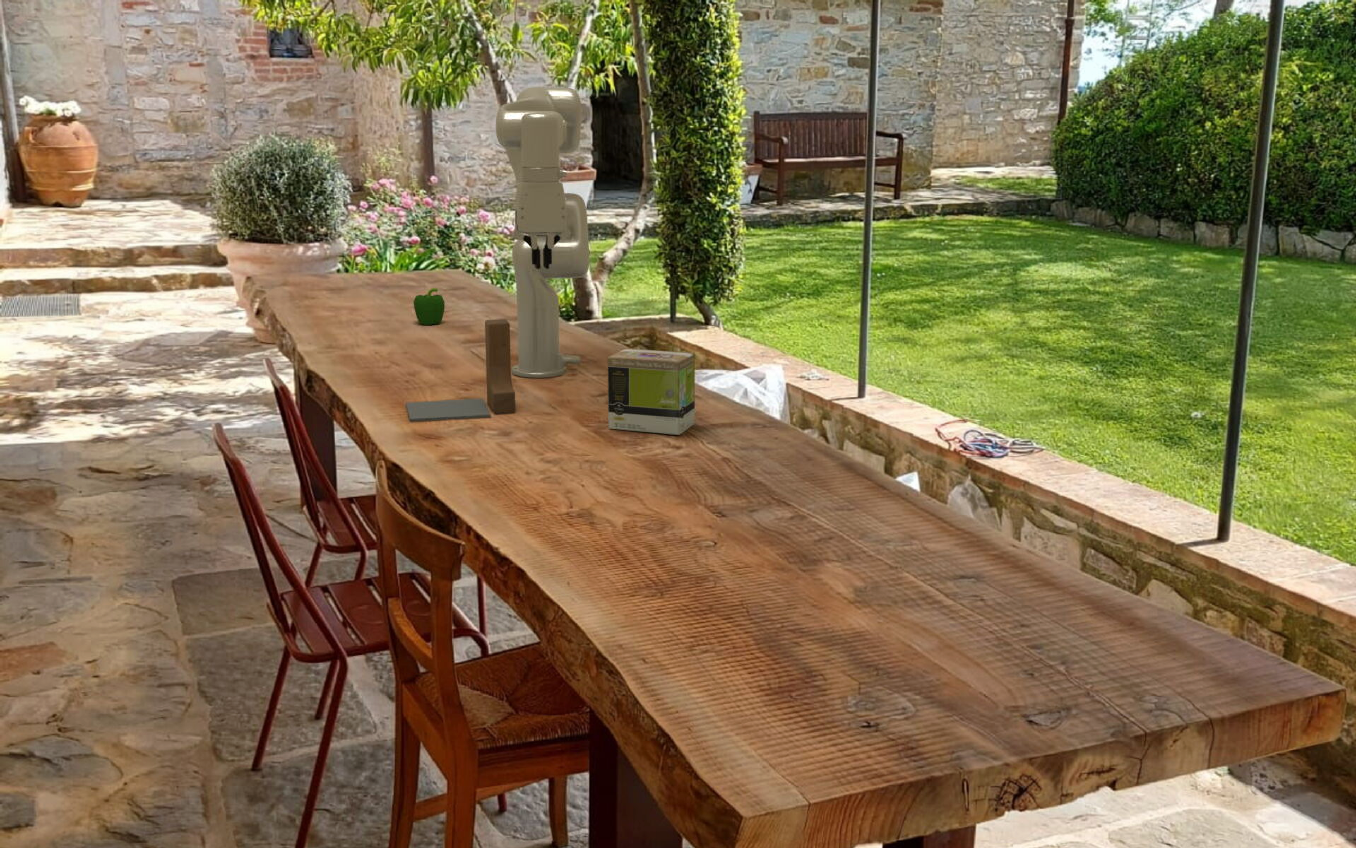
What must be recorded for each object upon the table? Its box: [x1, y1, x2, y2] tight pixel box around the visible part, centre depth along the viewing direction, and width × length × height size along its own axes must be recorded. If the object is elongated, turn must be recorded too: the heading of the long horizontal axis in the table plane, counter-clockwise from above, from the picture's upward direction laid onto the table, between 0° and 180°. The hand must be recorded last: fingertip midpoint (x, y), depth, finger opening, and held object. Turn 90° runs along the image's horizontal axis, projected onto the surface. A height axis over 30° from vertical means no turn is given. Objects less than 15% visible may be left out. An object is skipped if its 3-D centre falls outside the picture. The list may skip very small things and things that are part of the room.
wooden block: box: [484, 318, 516, 415], centre depth 265 cm, size 9×4×18 cm, turn 17°
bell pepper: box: [413, 287, 446, 326], centre depth 358 cm, size 8×8×10 cm
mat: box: [405, 398, 492, 423], centre depth 265 cm, size 16×14×1 cm
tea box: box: [607, 348, 696, 436], centre depth 253 cm, size 15×10×15 cm
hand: (541, 267), depth 262 cm, fingers closed
